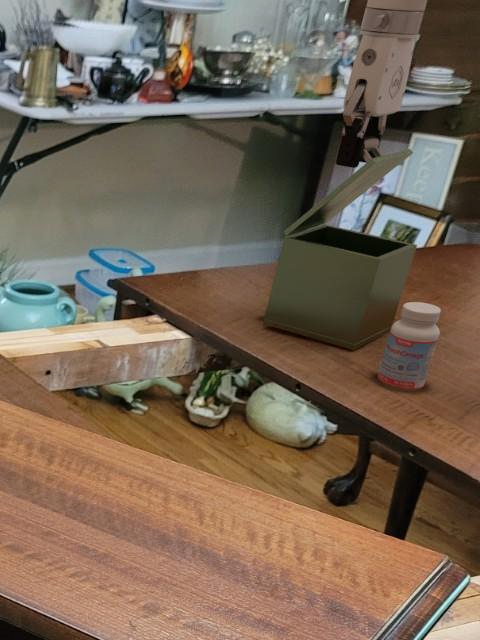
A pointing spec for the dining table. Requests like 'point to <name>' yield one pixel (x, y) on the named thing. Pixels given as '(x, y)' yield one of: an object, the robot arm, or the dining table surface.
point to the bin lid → (351, 186)
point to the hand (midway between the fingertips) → (355, 162)
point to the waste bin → (338, 285)
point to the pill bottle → (411, 346)
